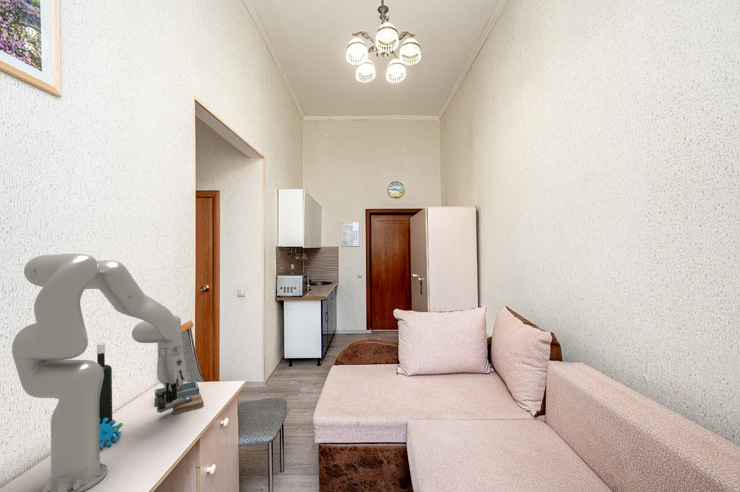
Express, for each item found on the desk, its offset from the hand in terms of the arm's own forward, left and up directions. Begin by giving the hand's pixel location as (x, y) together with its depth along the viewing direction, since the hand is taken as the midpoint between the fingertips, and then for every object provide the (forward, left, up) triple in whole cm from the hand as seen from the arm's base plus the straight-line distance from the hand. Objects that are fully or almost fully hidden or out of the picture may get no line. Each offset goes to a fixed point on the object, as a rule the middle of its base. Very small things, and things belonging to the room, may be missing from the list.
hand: (171, 400), depth 119 cm
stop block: (+20, -3, -6) cm, 21 cm away
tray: (+20, -3, -6) cm, 22 cm away
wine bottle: (+4, +20, -7) cm, 22 cm away
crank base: (+7, -6, -6) cm, 11 cm away
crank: (+5, -1, -4) cm, 6 cm away
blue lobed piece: (-6, +19, -7) cm, 21 cm away
